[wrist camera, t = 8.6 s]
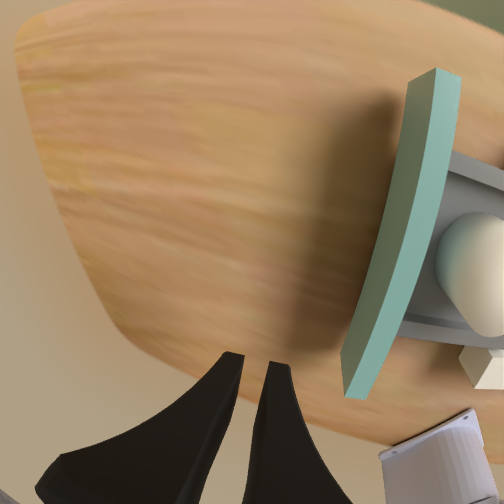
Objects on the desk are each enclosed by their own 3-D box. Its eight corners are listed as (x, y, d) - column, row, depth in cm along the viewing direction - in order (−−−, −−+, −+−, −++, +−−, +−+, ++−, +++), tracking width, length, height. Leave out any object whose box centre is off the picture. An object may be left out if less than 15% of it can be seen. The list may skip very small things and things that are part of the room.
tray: (554, 150, 12) (595, 157, 8) (478, 368, 18) (498, 405, 14) (407, 82, 13) (436, 67, 10) (340, 351, 19) (344, 397, 15)
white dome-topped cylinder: (451, 315, 16) (477, 354, 12) (420, 243, 15) (449, 273, 11) (516, 269, 14) (552, 299, 11) (492, 193, 13) (534, 210, 10)
